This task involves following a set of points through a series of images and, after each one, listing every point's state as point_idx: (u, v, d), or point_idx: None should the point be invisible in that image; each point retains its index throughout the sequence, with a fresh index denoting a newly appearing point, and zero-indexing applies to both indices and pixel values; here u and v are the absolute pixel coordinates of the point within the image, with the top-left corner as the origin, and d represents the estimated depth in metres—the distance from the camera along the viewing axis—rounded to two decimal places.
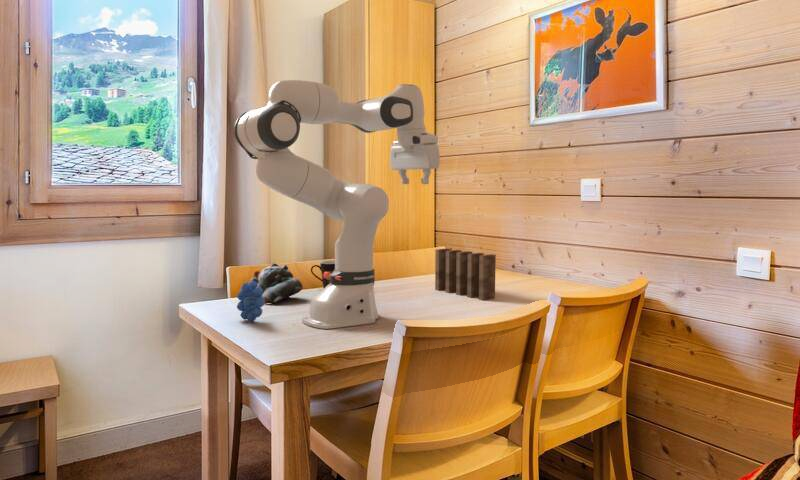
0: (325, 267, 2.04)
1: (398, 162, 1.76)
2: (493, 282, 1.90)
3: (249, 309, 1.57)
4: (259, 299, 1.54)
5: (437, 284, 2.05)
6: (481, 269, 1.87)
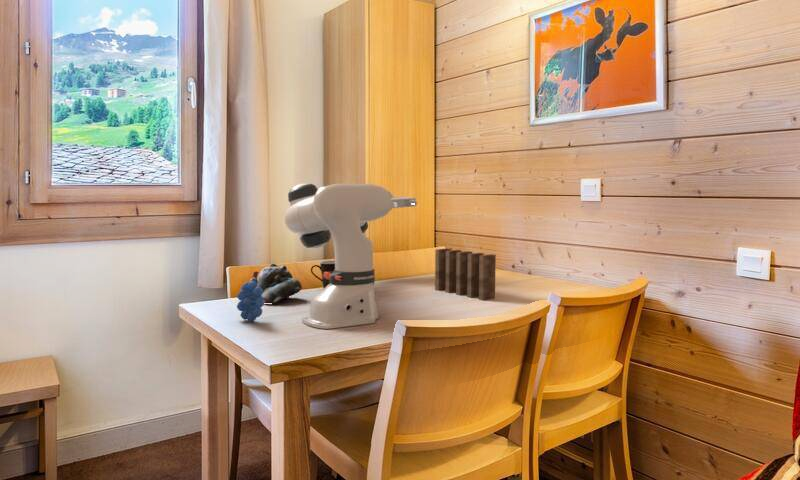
0: (325, 267, 2.04)
1: None
2: (493, 282, 1.90)
3: (249, 309, 1.57)
4: (259, 299, 1.54)
5: (437, 284, 2.05)
6: (481, 269, 1.87)
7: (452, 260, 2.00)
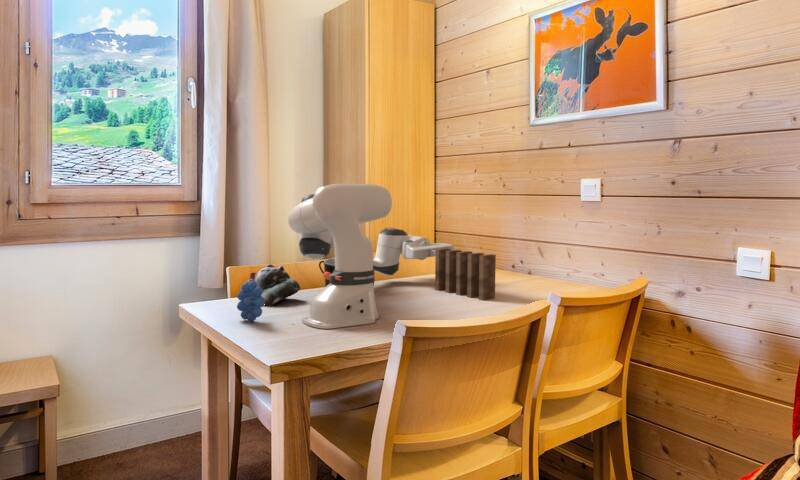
0: (325, 266, 2.03)
1: None
2: (493, 282, 1.90)
3: (249, 309, 1.57)
4: (259, 299, 1.54)
5: (437, 284, 2.05)
6: (481, 269, 1.87)
7: (452, 260, 2.00)
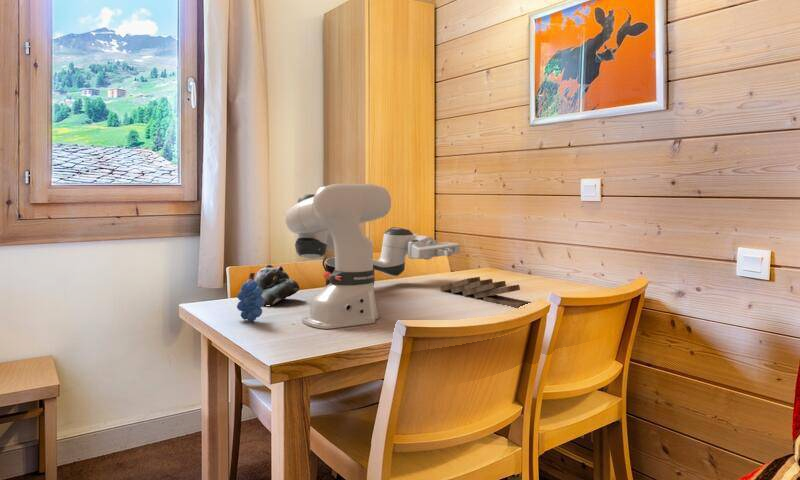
0: (326, 266, 2.03)
1: None
2: None
3: (249, 309, 1.57)
4: (259, 299, 1.54)
5: (444, 289, 2.02)
6: (507, 305, 1.79)
7: None
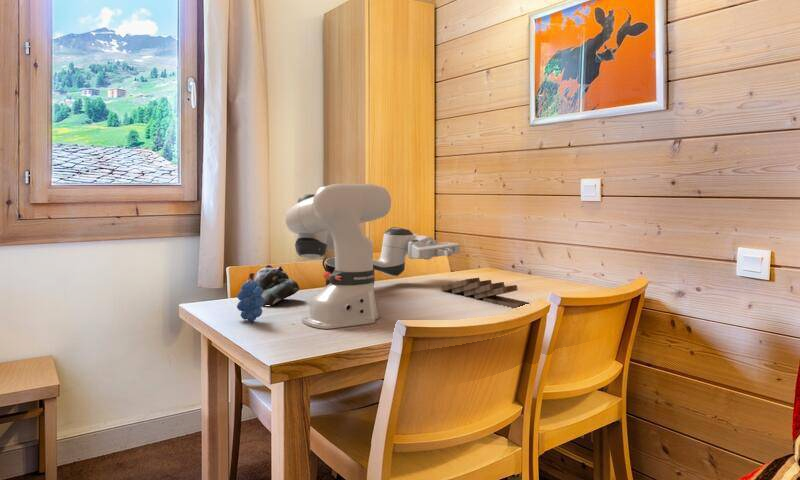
0: (326, 266, 2.03)
1: None
2: None
3: (249, 309, 1.57)
4: (259, 299, 1.54)
5: (445, 289, 2.02)
6: (506, 305, 1.78)
7: None
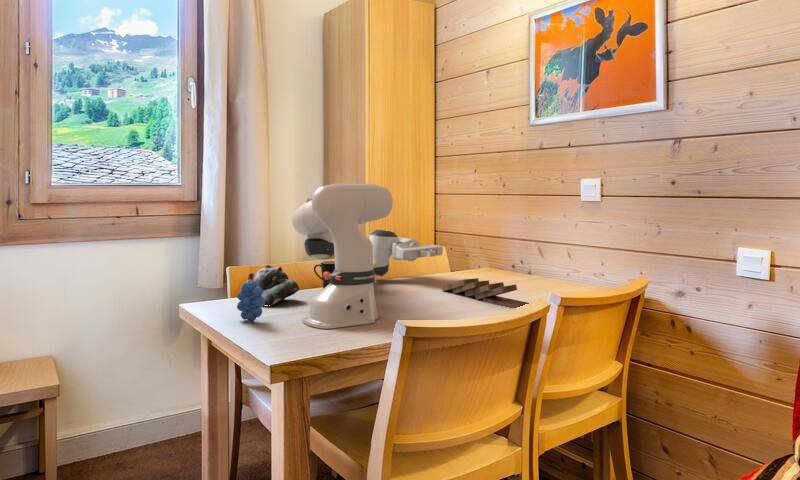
0: (323, 266, 2.04)
1: None
2: None
3: (249, 309, 1.57)
4: (259, 299, 1.54)
5: (445, 289, 2.02)
6: (506, 306, 1.77)
7: (473, 288, 1.89)
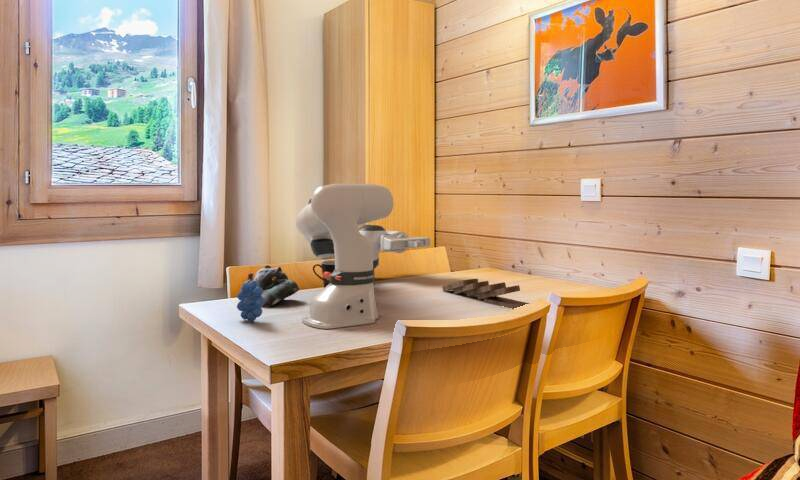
0: (325, 267, 2.03)
1: None
2: None
3: (249, 309, 1.57)
4: (259, 299, 1.54)
5: (445, 289, 2.01)
6: (507, 306, 1.77)
7: None
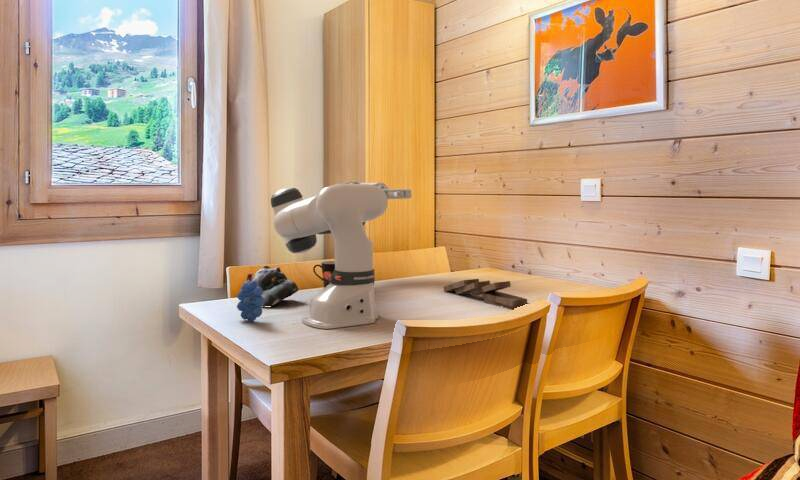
0: (324, 267, 2.03)
1: None
2: None
3: (249, 309, 1.57)
4: (259, 299, 1.54)
5: (446, 289, 2.01)
6: (508, 307, 1.76)
7: None
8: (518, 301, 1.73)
